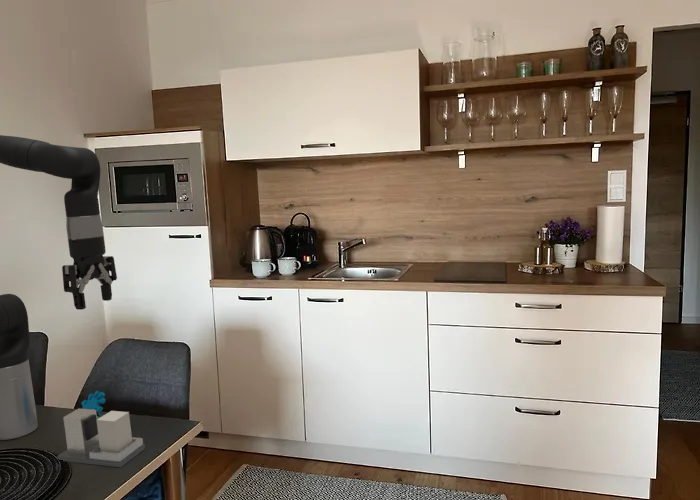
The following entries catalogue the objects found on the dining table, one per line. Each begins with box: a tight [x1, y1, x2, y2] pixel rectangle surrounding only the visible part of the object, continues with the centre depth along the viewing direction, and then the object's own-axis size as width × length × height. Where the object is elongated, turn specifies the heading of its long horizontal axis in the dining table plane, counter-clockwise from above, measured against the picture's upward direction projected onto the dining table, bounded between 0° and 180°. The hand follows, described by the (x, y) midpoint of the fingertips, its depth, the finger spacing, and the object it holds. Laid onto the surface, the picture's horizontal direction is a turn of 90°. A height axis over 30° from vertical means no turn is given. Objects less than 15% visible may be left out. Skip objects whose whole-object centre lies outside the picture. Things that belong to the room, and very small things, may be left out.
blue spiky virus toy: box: [77, 390, 106, 419], centre depth 136 cm, size 11×6×10 cm
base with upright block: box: [56, 408, 146, 468], centre depth 119 cm, size 16×8×9 cm, turn 74°
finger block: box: [97, 410, 133, 453], centre depth 118 cm, size 4×5×8 cm
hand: (94, 304), depth 130 cm, fingers open, 8 cm apart
